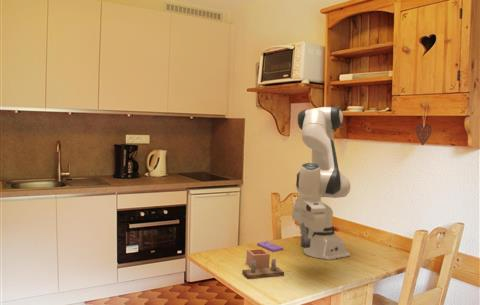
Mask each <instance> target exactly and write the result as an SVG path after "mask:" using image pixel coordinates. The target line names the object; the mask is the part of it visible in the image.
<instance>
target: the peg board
mask: <svg viewBox="0 0 480 305" xmlns="http://www.w3.org/2000/svg"><path fill="white" fill-rule="evenodd" d="M276 265H277V259H276V258H272V259H271V264H270V266H271V267H269V268H260V269H256V261H255V260H252V262H251V267H250V268H249V269H242V271H241V272H242V273H241V274H242V275H243V276H244V277H245V278H246V279H247V280H253V279H262V278H271V277H272V278H273V277H274V278H275V277H283V276H285V271H283V270H282V269H281V268H280V267H278V266H276Z"/></svg>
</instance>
